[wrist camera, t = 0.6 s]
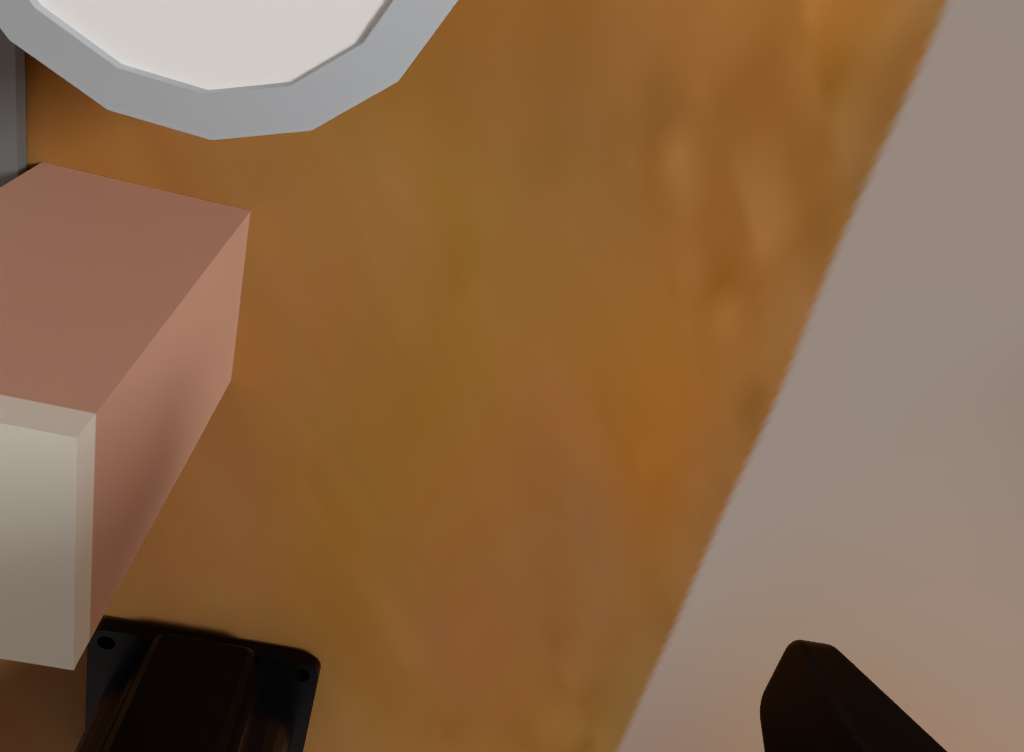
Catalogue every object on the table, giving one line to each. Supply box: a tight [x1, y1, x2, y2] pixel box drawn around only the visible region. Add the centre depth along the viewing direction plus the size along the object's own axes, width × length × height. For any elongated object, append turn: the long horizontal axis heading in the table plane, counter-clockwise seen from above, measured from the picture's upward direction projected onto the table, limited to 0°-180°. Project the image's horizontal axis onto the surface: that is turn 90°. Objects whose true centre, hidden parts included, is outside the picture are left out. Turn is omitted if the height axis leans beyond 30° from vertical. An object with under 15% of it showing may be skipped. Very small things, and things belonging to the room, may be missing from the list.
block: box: [0, 162, 250, 670], centre depth 16 cm, size 4×4×9 cm
